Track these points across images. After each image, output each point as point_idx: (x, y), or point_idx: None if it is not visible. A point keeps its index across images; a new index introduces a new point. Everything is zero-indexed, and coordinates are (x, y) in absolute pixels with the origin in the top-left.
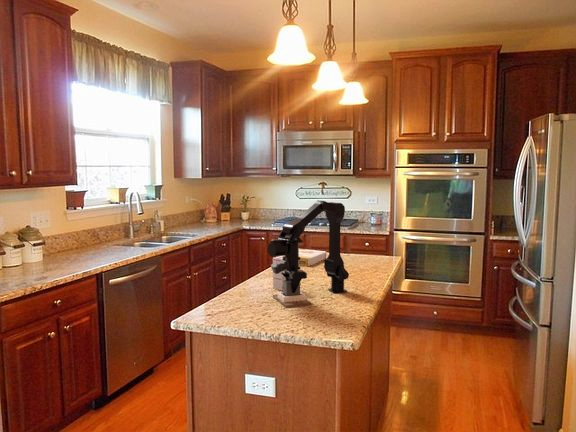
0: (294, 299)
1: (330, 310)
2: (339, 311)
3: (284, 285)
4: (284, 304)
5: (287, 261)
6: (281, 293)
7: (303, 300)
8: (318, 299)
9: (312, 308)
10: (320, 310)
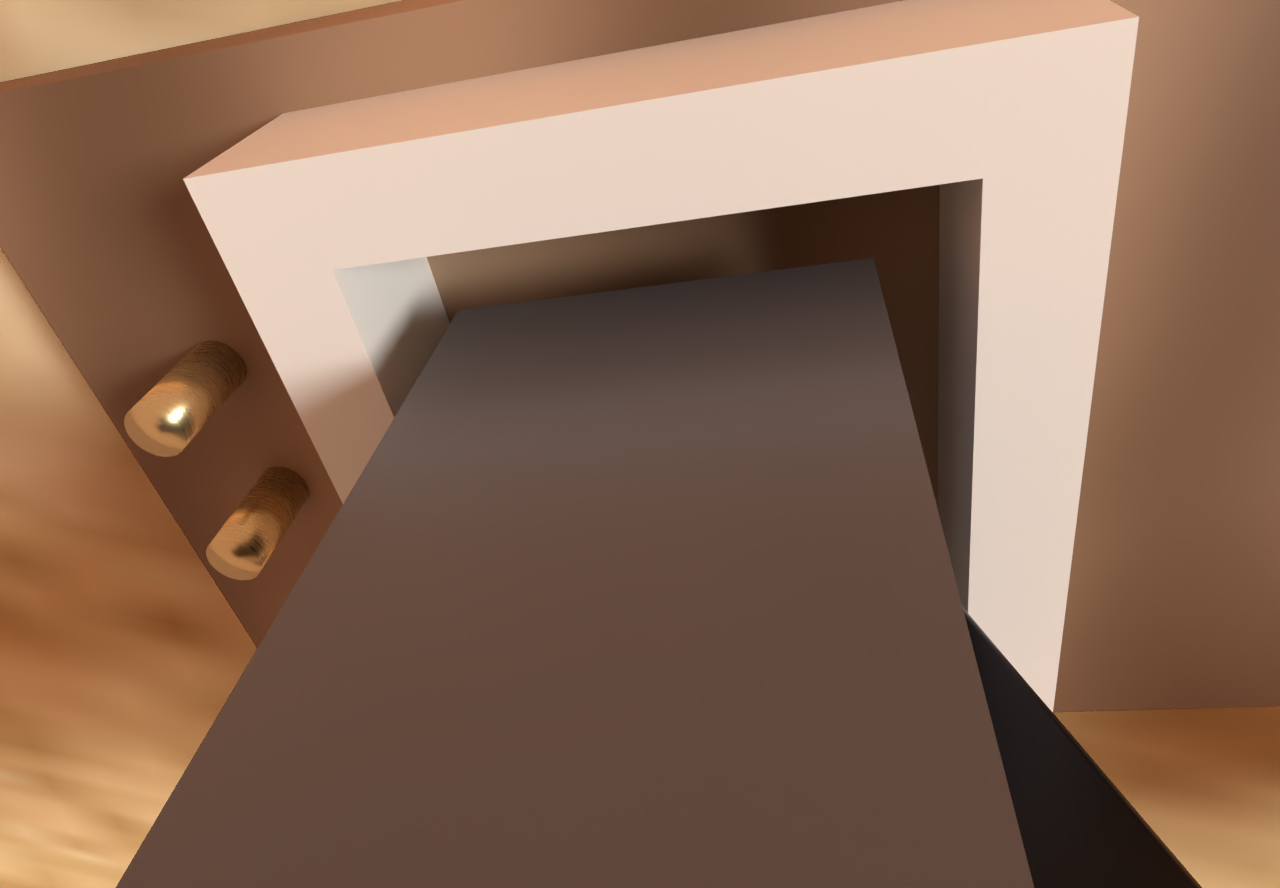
0: None
1: (52, 812)
2: (35, 872)
3: (635, 623)
4: (17, 88)
5: None
6: (977, 215)
7: None
8: None
9: (99, 646)
10: (6, 713)
